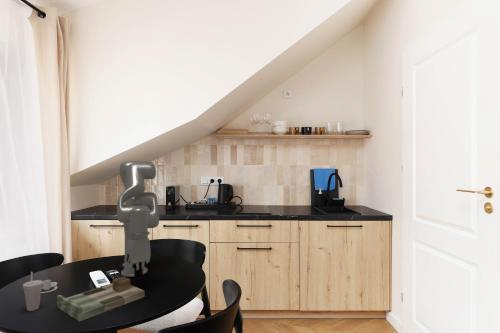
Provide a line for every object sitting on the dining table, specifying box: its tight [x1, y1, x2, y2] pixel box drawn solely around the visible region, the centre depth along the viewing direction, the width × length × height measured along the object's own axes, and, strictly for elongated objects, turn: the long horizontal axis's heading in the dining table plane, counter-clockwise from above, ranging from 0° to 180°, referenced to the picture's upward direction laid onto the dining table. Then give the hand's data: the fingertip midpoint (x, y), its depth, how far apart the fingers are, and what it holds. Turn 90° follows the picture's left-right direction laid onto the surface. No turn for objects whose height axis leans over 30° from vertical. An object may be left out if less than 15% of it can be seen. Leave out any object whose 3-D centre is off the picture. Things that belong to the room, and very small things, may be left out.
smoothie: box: [22, 271, 44, 312], centre depth 117 cm, size 6×6×14 cm
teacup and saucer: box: [41, 279, 58, 294], centre depth 135 cm, size 9×8×4 cm
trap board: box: [56, 282, 146, 323], centre depth 123 cm, size 18×26×4 cm
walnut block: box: [112, 276, 131, 292], centre depth 129 cm, size 5×5×4 cm
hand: (138, 277), depth 135 cm, fingers closed
